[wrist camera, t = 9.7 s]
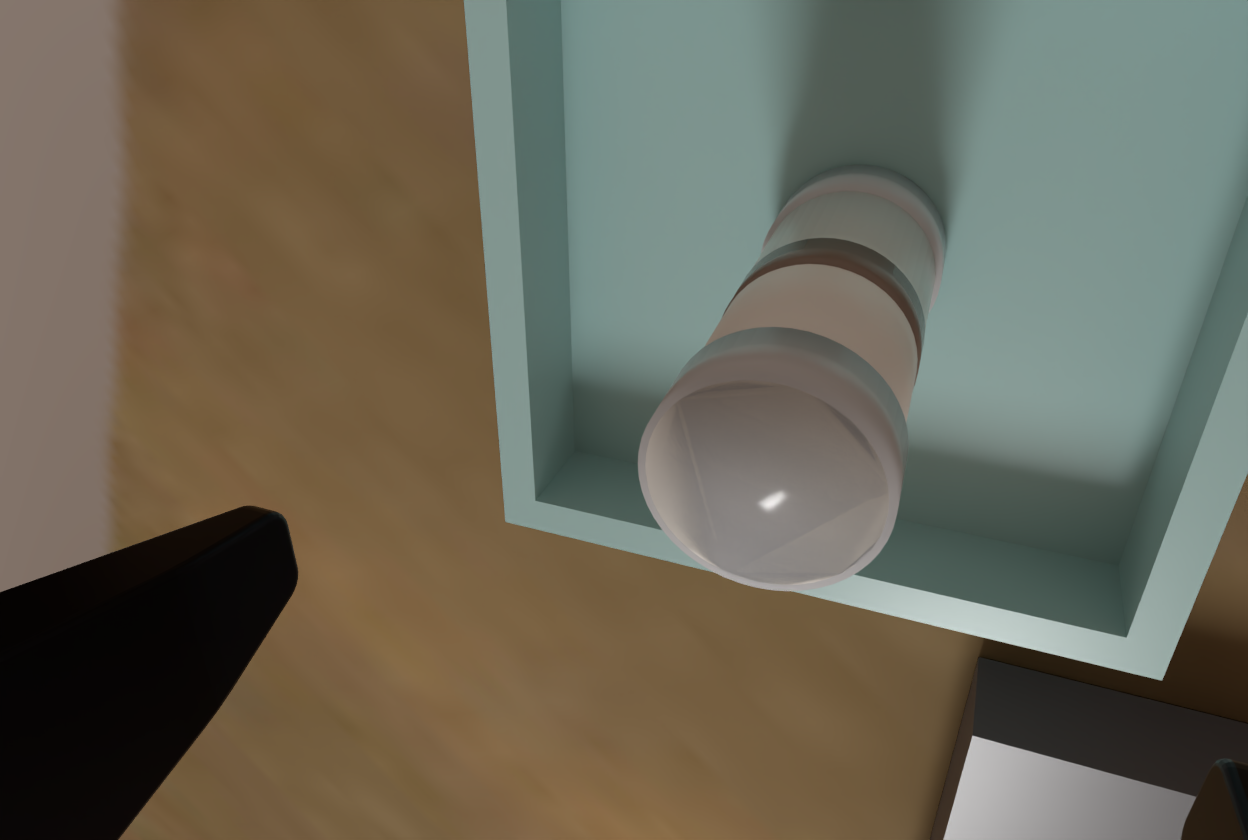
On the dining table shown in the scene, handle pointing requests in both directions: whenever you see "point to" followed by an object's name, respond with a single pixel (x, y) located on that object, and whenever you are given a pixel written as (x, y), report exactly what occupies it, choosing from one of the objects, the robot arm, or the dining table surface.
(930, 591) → the parts tray
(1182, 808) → the socket block
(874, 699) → the dining table surface
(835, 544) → the cylinder
